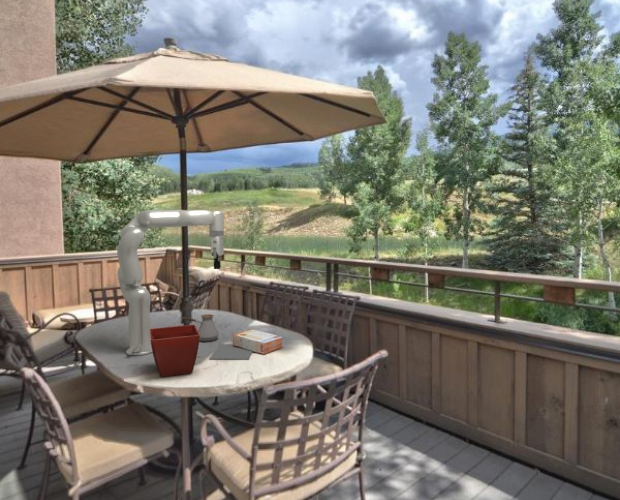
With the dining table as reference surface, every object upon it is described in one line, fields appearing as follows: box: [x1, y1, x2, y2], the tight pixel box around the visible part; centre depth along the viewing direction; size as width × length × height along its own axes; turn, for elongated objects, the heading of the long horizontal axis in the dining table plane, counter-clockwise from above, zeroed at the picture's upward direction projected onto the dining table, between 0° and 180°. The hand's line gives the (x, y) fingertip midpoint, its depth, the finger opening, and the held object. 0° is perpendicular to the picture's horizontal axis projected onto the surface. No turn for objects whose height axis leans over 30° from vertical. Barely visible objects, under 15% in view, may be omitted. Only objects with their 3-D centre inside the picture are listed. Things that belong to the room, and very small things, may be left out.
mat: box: [208, 343, 254, 361], centre depth 211 cm, size 22×18×1 cm
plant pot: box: [150, 324, 200, 378], centre depth 185 cm, size 19×19×17 cm
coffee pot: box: [179, 314, 219, 343], centre depth 227 cm, size 21×12×15 cm, turn 136°
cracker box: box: [232, 328, 283, 355], centre depth 217 cm, size 14×6×21 cm
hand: (217, 268), depth 233 cm, fingers closed
